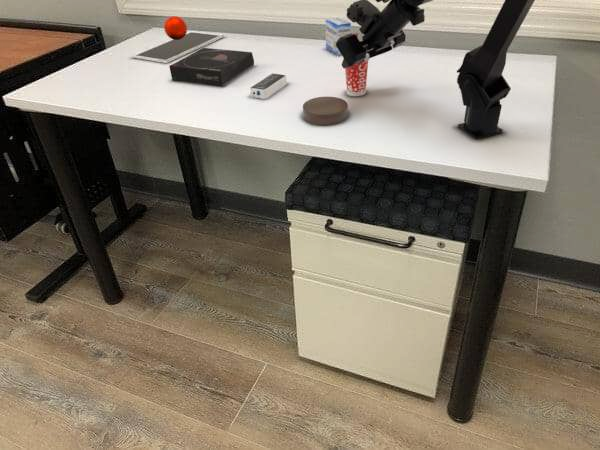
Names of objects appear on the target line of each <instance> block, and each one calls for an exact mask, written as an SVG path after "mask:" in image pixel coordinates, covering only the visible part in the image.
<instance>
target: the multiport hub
mask: <svg viewBox="0 0 600 450" xmlns="http://www.w3.org/2000/svg"><path fill="white" fill-rule="evenodd" d="M287 80H288V79H287V74H281V73H280V74H279V73H271V74H269V75H268V76H266V77H265V78H263V79H261V80H260V81H259V82H257V83H255V84H254V85H252V86H251V87H250V88H249V90H250V97H251V98H254V99H255V98H256V99H262V100H267V99H269V98H270V97H271V96H272V95H274V94H275V93H277V92H278V91H280V90H282V88H284V87H286V85H288V81H287Z"/></svg>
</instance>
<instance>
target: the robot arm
mask: <svg viewBox="0 0 600 450" xmlns="http://www.w3.org/2000/svg"><path fill="white" fill-rule="evenodd" d="M375 1H376V3H380V2H382V3H383V4H386V3H387V5H386V6H384V8H383V9H382V10H380V9H379V8H378V7H377V6H375V5H374V4H373V3H371V1H369V0H357V1H353V2H352V3H351V4H350V5H349V7H347V8H346V18H347V19H348V20H349V21H351V23H353V24H354V23H356V24H357V25H358V26H360V28H359V29H358V30H359V32H360V33H361V35H362V36H361V39H362V40H359V38H357V36H356V33H352V32H351V33H350V34H348V35H345V36H342V37H340V38H339V39H338V40H337V42H336V47H337V48H338V50H339V51H340V53H341V55H340V56H342V58H343V59H342V62H341V67H342V68H343V69H344V70H345V68H347V67H350V66H354V65H357V64H359V63H362V62H364V61H365V60H364V59H365V58H366V54H367V53H368V54H369V55H370V57H369V59H372V58H375V57H377V56H380V55H383V54H386V53H388V52H390V51H392V50H393V49H397V48H398V47H401V46H402V45H403V44H404V43H405V42H406V34H405V32H404V31H403V29H404V28H405V27H406V26H407V25H408V24H409V23H410V24H411V25H412V27H416V26H418V25H420V24H422V23H424V22H425V20H426V19H425V9H424V8H420V6H422V5H424V4H427V3H429V2H433V1H434V0H375ZM535 1H536V0H504V1H503V4H501V5H502V6H501V7H500V10H499V11H498V14H497V15H496V17H495V19H494V22H493V24H492V26H491V27H490V29H489V31H488V33H487V35H486V37H485V40H484V41H483V43H482V45H479V46H477V47H475V48H473V49H471V50H470V51H467V52H466V53H465V54H464V58H463V60H462V63H461V65H460V67H459V68H458V69H457V70H456V73H458V75H457V78H456V83H457V85H458V88H459V89H460V95H461V99H462V103H463V106H464V107H465V111H464V118H463V122H462V123H458V124H457V128H458V129H459V130H461V131H463V132H465V133H466V134H468V135H469V136H471V137H472V138H474V139H476V140H479V139H483V138H487V137H491V136H495V135H499V134H502V133H503V132H504V129H502V128H500V127H498V126H499V122H500V116H501V111H502V106H503V105H502V104H501V101H502V100H503V99H506V98H507V96H508V95H509V93H510V92H511V90H512V88H511V86H510V85H509V83H508V82H507V80H506V78H505V77H504V75H503V72H504V69H505V67H506V62H507V53H508V50H509V47H511V44H512V43H513V41H514V39H515V37H516V35H517V33H518V32H519V30H520V28H521V27H522V24H523V23H524V21H525V19H526V17H527V16H528V14H529V12H530V10H531V8H532V6H533V5H534V3H535ZM392 41H393V42H394V43H393V44H392Z"/></svg>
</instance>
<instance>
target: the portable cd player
mask: <svg viewBox="0 0 600 450" xmlns="http://www.w3.org/2000/svg"><path fill="white" fill-rule="evenodd" d="M254 66H255V58H254V55H253V52H252V51H243V50H242V51H241V50H231V49H221V48H220V49H219V48H210V47H201V48H199V49H197V51H196V50H195V52H192V53H191V54H189V55H187V56H185V57H183V58H182V59H179V60H178V61H176V62H174V63H172V64H170V65H169V66H168V67H169V72H170V77H171V80H172V81H174V82H180V83H188V84H189V83H190V84H196V85H205V86H213V87H221V88H224V87H225V86H227V85H229V84H230V83H231V82H233V81H234V80H235V79H237V78H238V77H240V76H241V75H243V74H245V73H246V72H248V71H249V70H251V69H252V68H253V67H254Z"/></svg>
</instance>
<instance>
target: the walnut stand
mask: <svg viewBox="0 0 600 450" xmlns="http://www.w3.org/2000/svg"><path fill="white" fill-rule="evenodd" d="M348 109H349V104H348V101H346V100H345V99H343V98H341V97H336V96H319V97H317V96H316V97H313V98H310V99H308V100H307V101H305V102H304V103H303V104H302V117H303V120H304V121H306V122H307V123H309V124H311V125H315V126H331V125H335V124H336V125H337V124H340V123H342V122H344V121H345V120H346V119H347V118H348V115H349V114H348V113H349V110H348Z"/></svg>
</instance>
